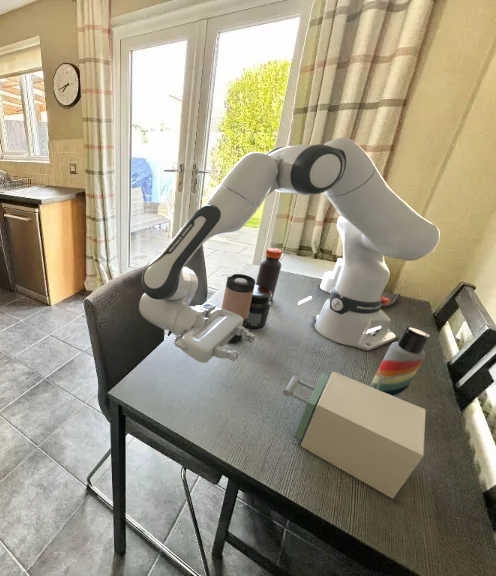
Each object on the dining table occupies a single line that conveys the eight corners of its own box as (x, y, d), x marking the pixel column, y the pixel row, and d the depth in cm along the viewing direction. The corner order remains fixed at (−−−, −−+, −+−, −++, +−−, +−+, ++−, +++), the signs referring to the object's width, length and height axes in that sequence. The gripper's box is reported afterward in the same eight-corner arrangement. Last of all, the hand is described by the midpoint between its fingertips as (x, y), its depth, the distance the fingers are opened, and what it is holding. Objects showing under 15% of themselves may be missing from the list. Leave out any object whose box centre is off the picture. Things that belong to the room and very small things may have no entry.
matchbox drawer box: (300, 445, 62) (317, 404, 57) (316, 410, 70) (332, 371, 65) (393, 499, 53) (423, 455, 48) (399, 450, 61) (426, 409, 56)
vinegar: (250, 294, 121) (261, 246, 112) (268, 296, 120) (281, 247, 111) (255, 303, 115) (267, 253, 106) (274, 304, 114) (288, 254, 105)
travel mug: (244, 345, 91) (258, 286, 83) (217, 342, 93) (229, 283, 84) (240, 331, 98) (252, 274, 89) (215, 328, 100) (225, 272, 91)
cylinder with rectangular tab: (346, 296, 119) (357, 268, 114) (319, 290, 124) (329, 263, 118) (345, 288, 126) (356, 260, 121) (320, 282, 131) (329, 256, 125)
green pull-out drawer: (270, 422, 66) (281, 389, 61) (287, 394, 73) (298, 362, 69) (376, 482, 55) (399, 446, 50) (384, 441, 62) (404, 407, 57)
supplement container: (261, 315, 107) (269, 285, 101) (269, 333, 97) (278, 300, 92) (230, 312, 109) (236, 282, 103) (234, 329, 99) (241, 296, 94)
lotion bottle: (360, 391, 75) (393, 323, 66) (381, 390, 76) (417, 322, 67) (380, 410, 70) (419, 339, 61) (402, 408, 70) (445, 337, 61)
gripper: (171, 331, 71) (227, 358, 62) (213, 300, 84) (264, 319, 75) (168, 352, 74) (222, 381, 65) (209, 320, 87) (259, 340, 78)
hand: (245, 347), depth 70 cm, fingers open, 8 cm apart
